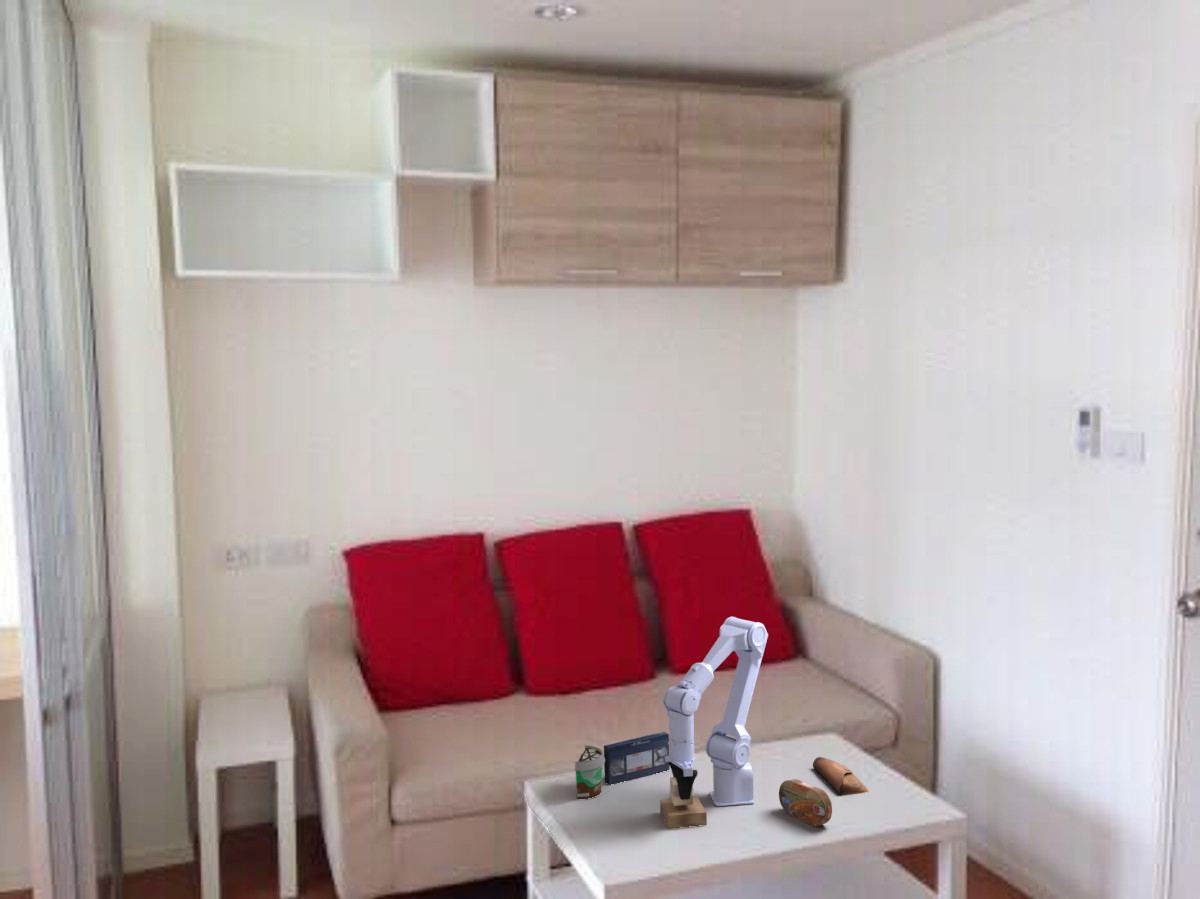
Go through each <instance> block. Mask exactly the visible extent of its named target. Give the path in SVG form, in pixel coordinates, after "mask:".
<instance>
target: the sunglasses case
mask: <svg viewBox="0 0 1200 899" xmlns="http://www.w3.org/2000/svg"><path fill="white" fill-rule="evenodd" d="M812 767H813V769H814V770H815V771H816V772H818V773H819V775H821V776H822V777H823V778H824V779H825V780H826V781H827V782H828V783H829V784H830V785H831V786H832V788H833V789H835V791H836V792H837V793H839V794H840V795H841V796H850V795H851V796H853V795H857V794H858V795H859V794H865V792H866V793H869V792H870V791H869V789H868V788H867V787H866V786H865V784H864V783H863V782H862V781H861V780H860V779H859V778H858V777H857V776H855V774H854V773H853V771H852V770H851V769H850V768H849V767H847V766H845V765H843V764H840V763H839V762H836V761H834V760H832V759H830V758H829V759H828V758H825V757H822V756H818V757H816V758H815V759H814V761H813V762H812Z"/></svg>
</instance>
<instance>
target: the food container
mask: <svg viewBox="0 0 1200 899" xmlns="http://www.w3.org/2000/svg"><path fill="white" fill-rule="evenodd" d="M574 763H575V764H574V770H575V771H574V772H575V783H576V784H575V785H576V786H575V787H576V798H577V799H585V800H589V799H588V798H591V799H593V798H592V797H595V796H597V795H599V794H600V793H601V794H602V783H603V766H604V763H605V758H604V751H603V750H602V749H601V748H600V747H597V746H594V745H588V744H585V745H584V751H583V752H582V753H581V754H580V756H579V759H578V761H575V762H574ZM601 794H600V795H601ZM600 795H599V796H600ZM597 797H598V796H597ZM595 798H596V797H595Z"/></svg>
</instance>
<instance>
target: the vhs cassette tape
mask: <svg viewBox="0 0 1200 899" xmlns="http://www.w3.org/2000/svg"><path fill="white" fill-rule="evenodd" d="M603 754H604V758H605V763H604V764H603V766H604V771H603V772H604V773H603V774H604V777H603V778H604V783H605V784H606V783H607V785H608V786H612V785H611V784H614V785H618V784H621V783H620V782H622V783H625V782H624V781H626V782H630V781H634V780H638V779H642V778H646V777H650V776H653V774H654V775H657V774H656V773H658V774H661V773H660V772H662V773H664V772H663V771H666V772H668V771H667V770H669V771H670V769H671V768H670V765H669V764H668V762H666V761H665V756H669V755H670V738H669V733H668V732H667V731H666V732H665V731H662V732H656V733H652V734H648V735H643V736H639V737H636V738H632V739H626V740H621V741H618V742H614V743H610V744H607V745H603ZM633 779H634V780H633ZM617 783H618V784H617Z"/></svg>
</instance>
